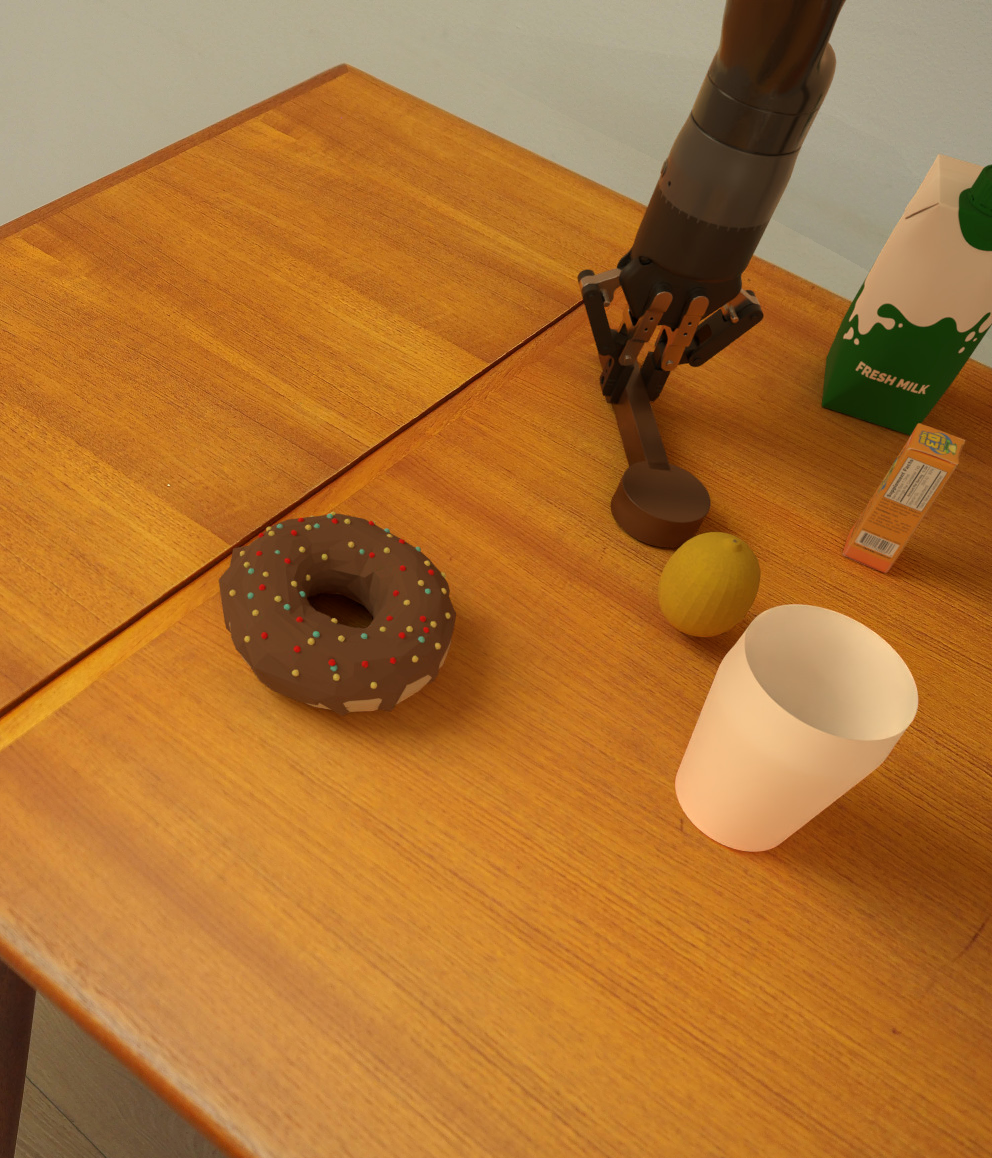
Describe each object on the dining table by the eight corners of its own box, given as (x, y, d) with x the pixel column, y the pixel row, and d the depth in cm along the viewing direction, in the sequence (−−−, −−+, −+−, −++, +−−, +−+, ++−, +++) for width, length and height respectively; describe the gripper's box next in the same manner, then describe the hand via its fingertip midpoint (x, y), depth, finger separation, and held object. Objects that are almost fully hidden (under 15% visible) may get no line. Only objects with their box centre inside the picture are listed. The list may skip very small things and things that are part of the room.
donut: (327, 524, 85) (342, 467, 82) (487, 655, 79) (511, 600, 76) (161, 622, 78) (170, 564, 74) (324, 775, 72) (341, 721, 68)
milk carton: (808, 410, 101) (946, 176, 86) (815, 347, 107) (945, 118, 92) (924, 447, 99) (1084, 216, 85) (924, 381, 105) (1074, 155, 91)
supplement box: (846, 527, 92) (919, 417, 84) (894, 549, 91) (973, 440, 83) (835, 554, 90) (910, 444, 82) (885, 577, 89) (965, 468, 81)
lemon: (639, 648, 81) (688, 560, 75) (640, 586, 85) (688, 497, 79) (727, 672, 81) (784, 585, 75) (725, 608, 85) (779, 521, 79)
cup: (622, 792, 74) (707, 658, 65) (704, 711, 78) (793, 575, 70) (762, 903, 70) (872, 776, 61) (839, 810, 75) (951, 680, 66)
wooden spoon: (570, 350, 102) (580, 324, 100) (644, 358, 102) (656, 333, 100) (618, 542, 87) (631, 517, 86) (705, 552, 88) (720, 527, 86)
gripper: (625, 209, 82) (541, 421, 94) (835, 236, 83) (724, 442, 95) (604, 148, 87) (527, 357, 100) (803, 174, 88) (701, 378, 101)
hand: (624, 398), depth 97 cm, fingers closed on wooden spoon, 1 cm apart
